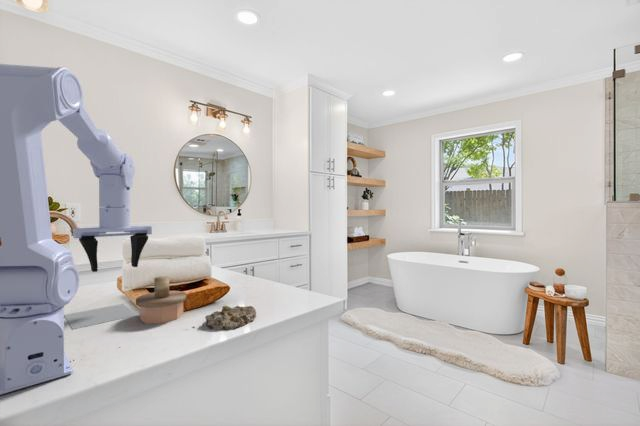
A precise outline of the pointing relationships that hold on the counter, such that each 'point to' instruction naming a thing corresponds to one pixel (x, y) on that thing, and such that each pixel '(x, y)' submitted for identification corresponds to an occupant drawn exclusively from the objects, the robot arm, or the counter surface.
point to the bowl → (161, 313)
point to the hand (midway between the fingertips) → (115, 268)
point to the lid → (161, 295)
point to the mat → (98, 316)
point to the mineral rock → (231, 317)
